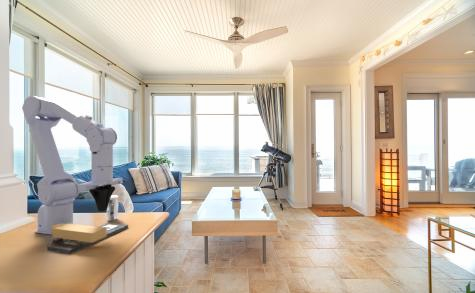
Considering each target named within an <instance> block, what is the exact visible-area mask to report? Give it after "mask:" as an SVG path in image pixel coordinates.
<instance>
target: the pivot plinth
mask: <svg viewBox="0 0 475 293" xmlns="http://www.w3.org/2000/svg"><path fill="white" fill-rule="evenodd" d="M63 240H64V239H63V238H56V237H53V236H52V243H53V244H55V243H57V242H60V241H63Z"/></svg>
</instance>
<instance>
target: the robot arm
mask: <svg viewBox="0 0 475 293" xmlns="http://www.w3.org/2000/svg"><path fill="white" fill-rule="evenodd" d="M21 109H22V112H23V115H24V118H25V121H26V124H27V125H28V128H29V132H30V134H31V139H32V141H33V144H34V148H35V151H36V154H37V157H38V161H39V163H40V167H41V169H42V173H43V177H42V178H41V179H40V180H39V181H38V182H37V183H36V186H37V198H38V200H39V202H40V203H41V205H40V207H39V208H38V210H37V229H36V230H34V233H37V234H45V235H51V226H53V225H56V224H68V223H69V224H74V201H76V198H77V197H79V194H80V192H86V191H88V192H89V193H90V194H91V196H92V198H93V199H94V202H95V204H96V209H97V211H98V212H105V211H106V212H107V207H108V204H109V200H110V198H111V195H113V193H114V191H116V186H115V185H121V184H123V179H124V178H123V177H114V167H113V166H114V161H113V160H114V156H113V155H114V151H113V150H114V149H113V148H114V145H115V144H116V143H117V140H118V134H117V132H116V130H114V129H113V128H112V127H105V126H104V124H103V123H101V122H97V121H95V120H94V119H93V116H91V115H83V114H81V115H80V114H78V113H77V112H76V111H74V110H73V109H72V108H70V107H69V106H68V104H67V103H65V102H63V101H62V100H55V99H50V98H45V97H40V96H39V97H38V96H36V95H29V96H27V97H26V98H25V100H24V102H23V104H22V108H21ZM61 120H64V121H66V122H68V123H69V124H71V125H72V126H71V127H72V129H73V130H74V131H75V132H76V133H78V134H79V135H81V136H83V137H84V138H85V139H86V142H87V143H88V146H89V150H90V151H89V152H91V155H90V156H91V159H90V160H91V180H90V181H87V182H83V183H78V182H76V180H75V178H74V176H73V175H72V174H70V173H68V172H66V171H65V169H64V166H63V163H62V160H61V157H60V154H59V150H58V148H57V144H56V140H55V138H54V134H53V131H52V128H53V127H56V126H57V125H58V124H59V122H60V121H61Z"/></svg>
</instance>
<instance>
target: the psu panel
mask: <svg viewBox="0 0 475 293" xmlns="http://www.w3.org/2000/svg"><path fill="white" fill-rule="evenodd" d="M98 227H104V228H106V237H104V238H102V239H100V240H97V241H95V242H93V243H91V242H84V241H77V240H70V239H63V241H60V242H57V243H53V244H50V245H47V246H46V247H47V248H46V250H47V251H50V252H56V253H63V254H68V255H71V254H73V253H75V252H78V251H81V250H82V249H84V248H87V247H89V246H91V245H93V244H95V243H97V242H100V241H102V240H104V239H107V238H109V237H112V236H114V235H115V234H118V233H120V232H123V231H124V230H126V229H128V228H129V224H124V223H113V222H108V223H105V224H103V225H100V226H98Z"/></svg>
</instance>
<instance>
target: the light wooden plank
mask: <svg viewBox="0 0 475 293" xmlns="http://www.w3.org/2000/svg"><path fill="white" fill-rule="evenodd" d="M50 235H51V236H52V238H53V237H56V238H63V240H65V239H70V240H77V241H84V242H91V243H93V242H95V241H97V240H100V239H102V238H104V237H106V228H104V227H99V226H93V225H84V224H76V223H73V224H69V223H68V224H56V225H53V226H51V234H50ZM102 240H103V239H102ZM100 241H101V240H100ZM93 244H94V243H93Z"/></svg>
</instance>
